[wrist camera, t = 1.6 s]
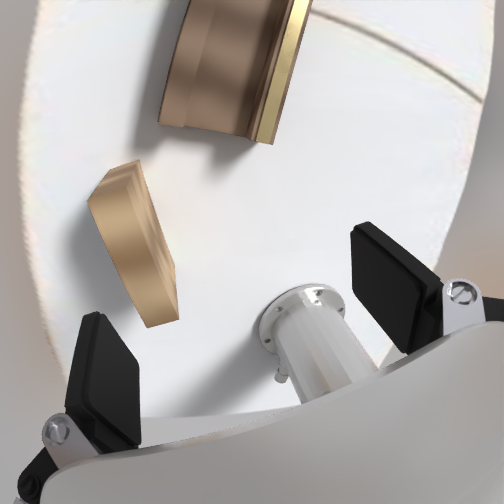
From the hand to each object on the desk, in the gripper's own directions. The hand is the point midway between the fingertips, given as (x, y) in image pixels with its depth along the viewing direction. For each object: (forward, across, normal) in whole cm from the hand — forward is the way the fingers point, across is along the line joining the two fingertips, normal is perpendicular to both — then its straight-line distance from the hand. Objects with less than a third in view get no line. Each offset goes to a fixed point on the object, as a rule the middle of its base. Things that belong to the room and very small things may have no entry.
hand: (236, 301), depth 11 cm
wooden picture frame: (+20, +6, +4) cm, 22 cm away
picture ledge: (+20, -7, -12) cm, 25 cm away
